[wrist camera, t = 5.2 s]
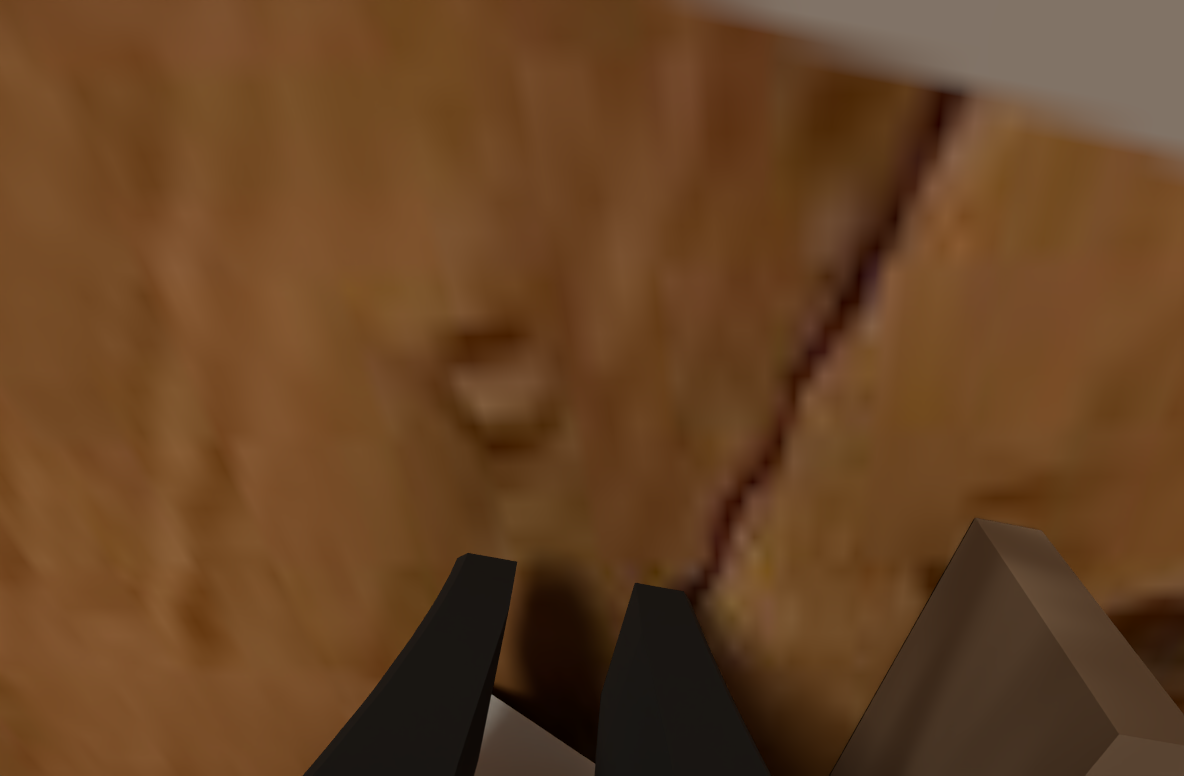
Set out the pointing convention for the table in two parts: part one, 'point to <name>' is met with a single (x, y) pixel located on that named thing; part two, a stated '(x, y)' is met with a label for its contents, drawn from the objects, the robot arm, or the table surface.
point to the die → (525, 748)
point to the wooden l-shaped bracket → (1015, 678)
